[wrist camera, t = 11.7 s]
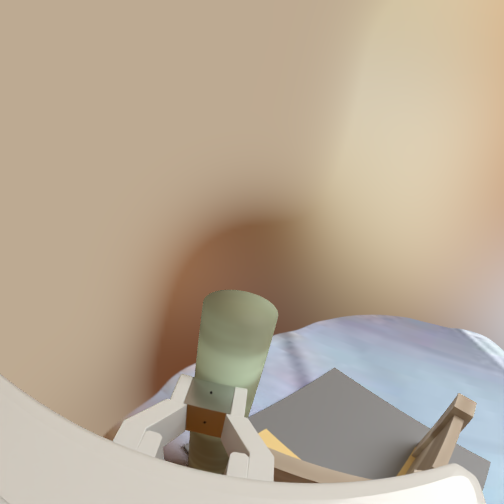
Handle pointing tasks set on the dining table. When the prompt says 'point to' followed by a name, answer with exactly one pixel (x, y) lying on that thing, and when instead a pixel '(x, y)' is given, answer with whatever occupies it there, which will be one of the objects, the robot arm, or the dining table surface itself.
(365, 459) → the board
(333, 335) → the dining table surface
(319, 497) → the robot arm
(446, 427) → the fixed fence section
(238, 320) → the swinging fence section
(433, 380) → the dining table surface
